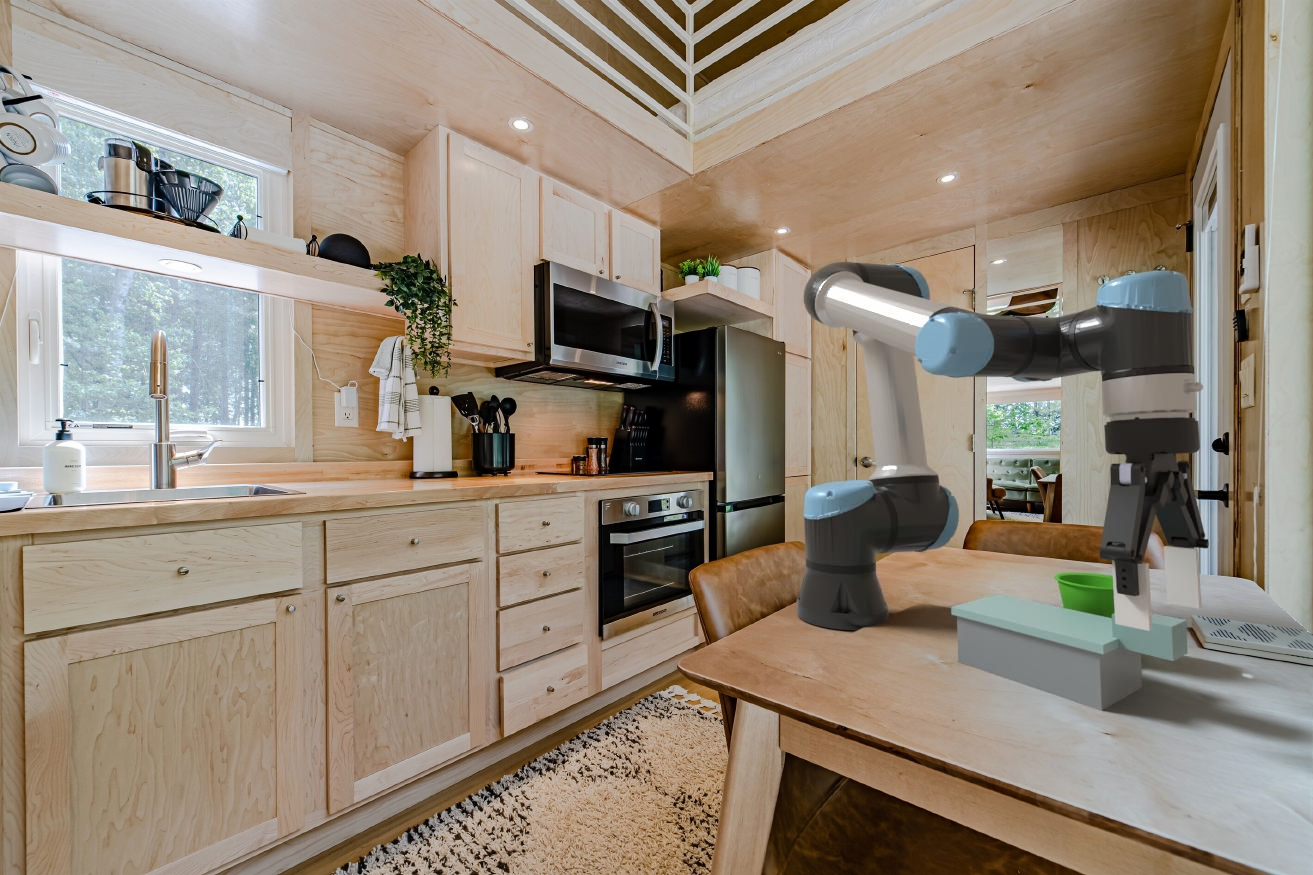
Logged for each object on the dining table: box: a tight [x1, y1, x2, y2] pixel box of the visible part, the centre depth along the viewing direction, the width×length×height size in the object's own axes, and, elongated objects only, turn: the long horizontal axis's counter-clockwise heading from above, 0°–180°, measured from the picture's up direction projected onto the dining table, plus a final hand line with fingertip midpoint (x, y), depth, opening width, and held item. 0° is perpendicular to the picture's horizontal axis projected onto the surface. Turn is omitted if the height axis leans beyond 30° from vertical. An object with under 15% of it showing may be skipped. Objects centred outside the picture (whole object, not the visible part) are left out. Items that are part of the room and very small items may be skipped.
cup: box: [1054, 571, 1115, 618], centre depth 72 cm, size 9×9×11 cm
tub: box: [956, 616, 1143, 711], centre depth 67 cm, size 16×11×7 cm
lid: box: [950, 593, 1188, 662], centre depth 65 cm, size 21×11×4 cm, turn 30°
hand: (1160, 615), depth 57 cm, fingers open, 13 cm apart
